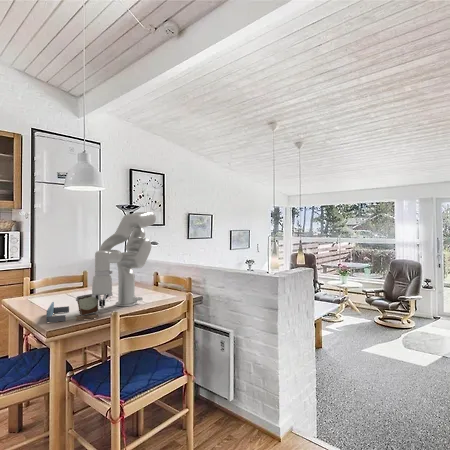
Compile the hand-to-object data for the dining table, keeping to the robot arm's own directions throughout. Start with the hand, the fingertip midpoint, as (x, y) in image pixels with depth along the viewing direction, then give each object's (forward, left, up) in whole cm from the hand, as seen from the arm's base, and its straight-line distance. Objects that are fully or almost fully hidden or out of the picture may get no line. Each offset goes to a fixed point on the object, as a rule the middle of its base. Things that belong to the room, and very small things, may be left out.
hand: (102, 307), depth 176 cm
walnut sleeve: (+7, 0, -3) cm, 8 cm away
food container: (+7, 0, -3) cm, 8 cm away
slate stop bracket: (+21, 0, -3) cm, 21 cm away
